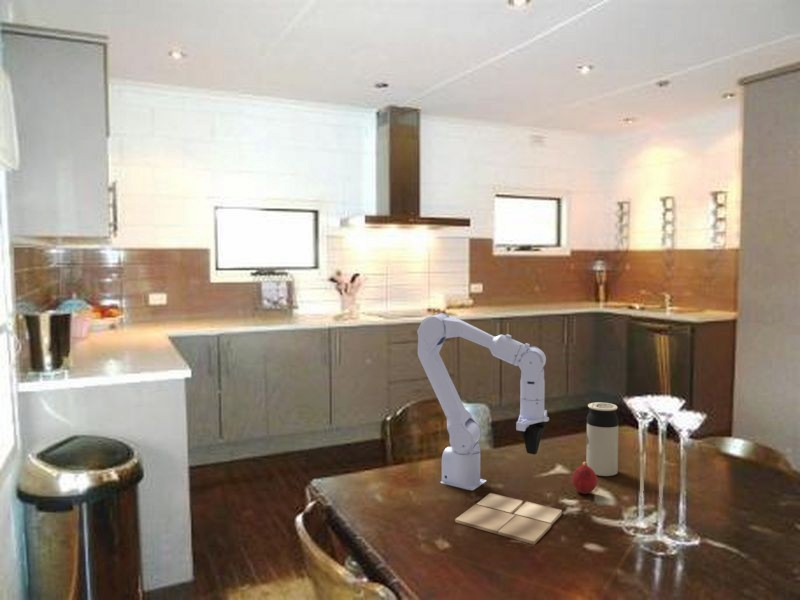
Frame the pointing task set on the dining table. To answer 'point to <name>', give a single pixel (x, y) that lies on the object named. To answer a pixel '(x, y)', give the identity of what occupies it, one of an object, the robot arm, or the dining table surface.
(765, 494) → the dining table surface
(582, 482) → the onion
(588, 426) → the travel mug
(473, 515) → the laid row
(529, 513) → the plank
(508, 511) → the plank
